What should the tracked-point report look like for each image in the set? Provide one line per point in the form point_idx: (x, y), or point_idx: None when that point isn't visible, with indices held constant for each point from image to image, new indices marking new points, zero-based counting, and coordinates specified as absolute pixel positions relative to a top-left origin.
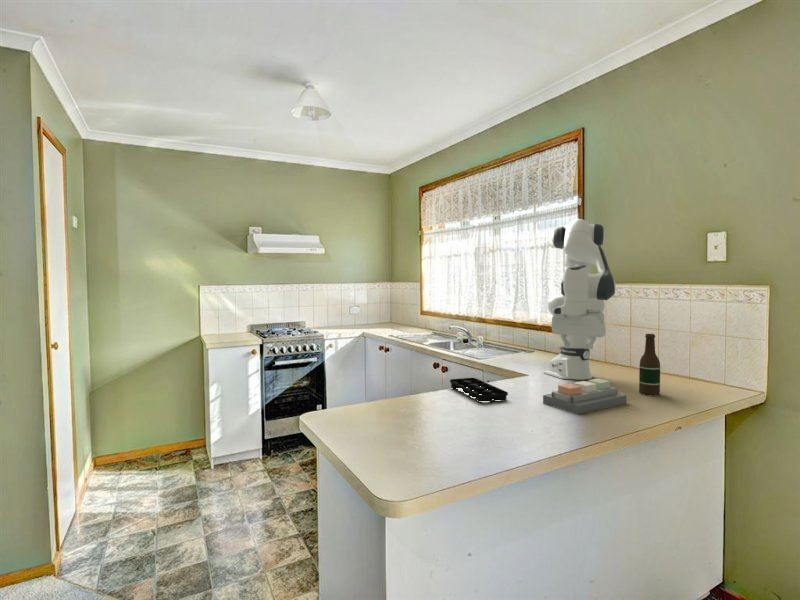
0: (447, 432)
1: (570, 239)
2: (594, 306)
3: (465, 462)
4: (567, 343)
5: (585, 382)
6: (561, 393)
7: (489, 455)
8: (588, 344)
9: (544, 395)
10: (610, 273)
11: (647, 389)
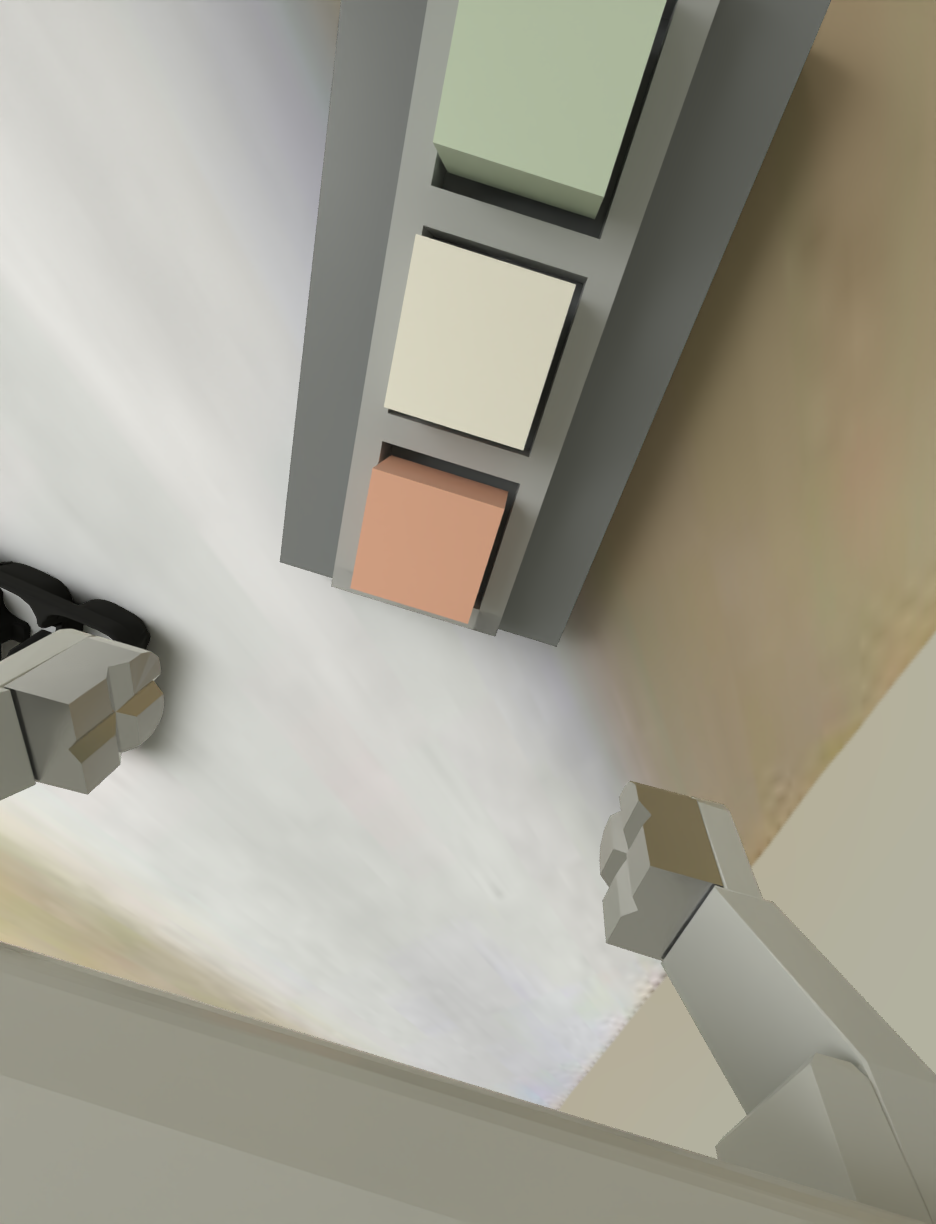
0: (322, 990)
1: None
2: None
3: (488, 1081)
4: (105, 760)
5: (462, 302)
6: None
7: (507, 1047)
8: (667, 959)
9: (290, 563)
10: None
11: None
